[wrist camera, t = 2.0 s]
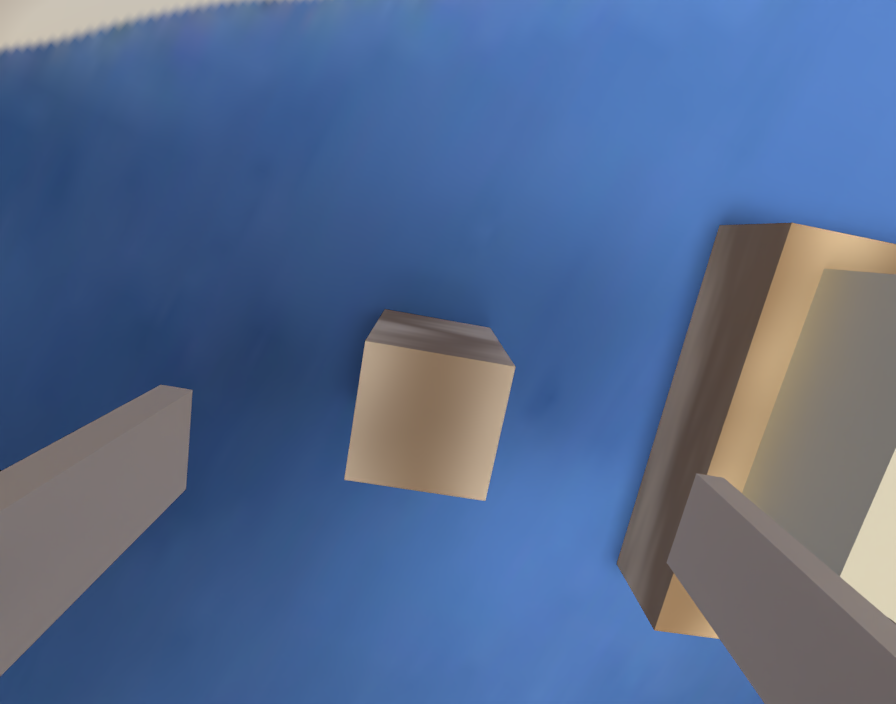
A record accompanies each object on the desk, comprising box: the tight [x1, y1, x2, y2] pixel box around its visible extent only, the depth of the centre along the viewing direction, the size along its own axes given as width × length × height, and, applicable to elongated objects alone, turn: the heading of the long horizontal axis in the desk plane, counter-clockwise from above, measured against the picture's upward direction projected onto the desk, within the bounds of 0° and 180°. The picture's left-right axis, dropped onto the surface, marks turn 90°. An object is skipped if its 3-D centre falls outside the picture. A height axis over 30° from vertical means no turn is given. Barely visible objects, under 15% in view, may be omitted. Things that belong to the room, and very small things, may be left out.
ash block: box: [344, 309, 515, 501], centre depth 20 cm, size 5×5×7 cm
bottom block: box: [617, 223, 896, 639], centre depth 23 cm, size 12×18×5 cm, turn 169°
